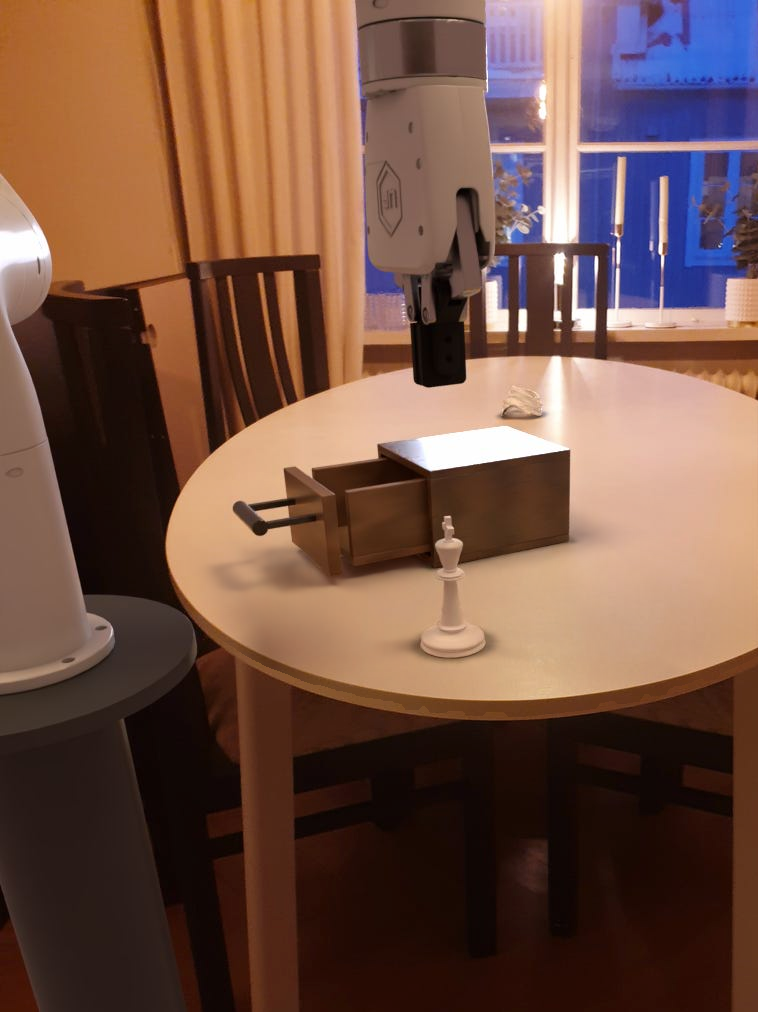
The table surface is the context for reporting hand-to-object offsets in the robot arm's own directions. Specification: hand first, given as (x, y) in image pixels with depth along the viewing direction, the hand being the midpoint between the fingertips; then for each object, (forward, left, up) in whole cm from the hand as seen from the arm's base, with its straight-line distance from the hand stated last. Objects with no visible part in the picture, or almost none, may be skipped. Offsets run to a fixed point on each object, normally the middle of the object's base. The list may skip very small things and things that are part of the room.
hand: (440, 383), depth 63 cm
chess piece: (0, 0, -20) cm, 20 cm away
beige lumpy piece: (+47, +72, -20) cm, 88 cm away
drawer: (0, +22, -18) cm, 28 cm away
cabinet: (+13, +22, -19) cm, 32 cm away
